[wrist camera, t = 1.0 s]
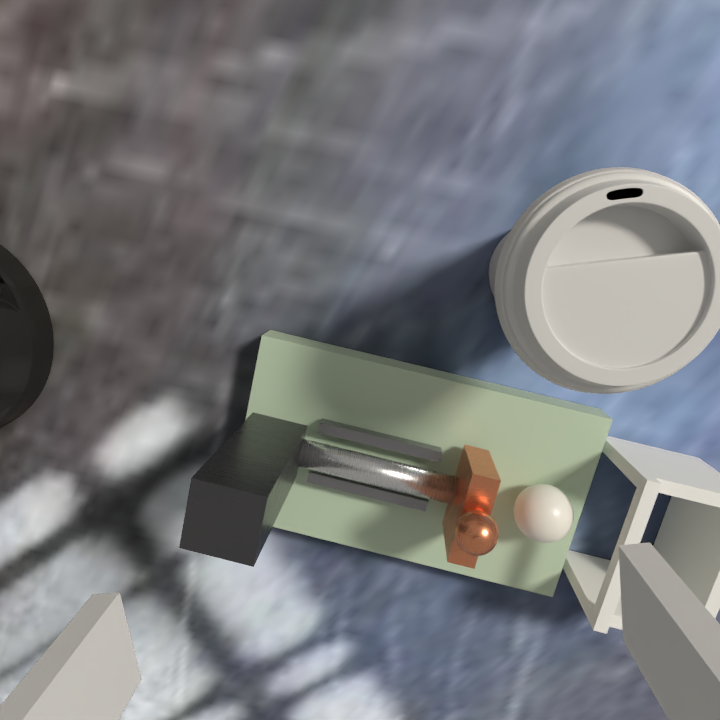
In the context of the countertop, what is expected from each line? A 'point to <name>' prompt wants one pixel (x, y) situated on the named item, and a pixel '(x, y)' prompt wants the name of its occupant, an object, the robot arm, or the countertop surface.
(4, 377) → the robot arm
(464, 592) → the countertop surface
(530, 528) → the ball
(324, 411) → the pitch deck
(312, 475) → the rail guide
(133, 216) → the countertop surface
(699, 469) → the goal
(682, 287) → the coffee cup
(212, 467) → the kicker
